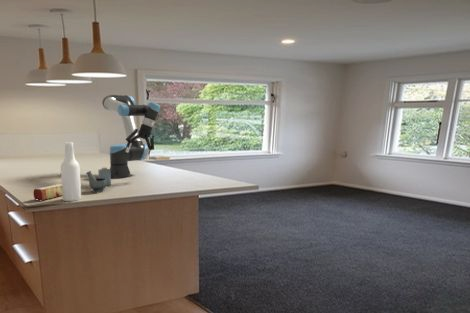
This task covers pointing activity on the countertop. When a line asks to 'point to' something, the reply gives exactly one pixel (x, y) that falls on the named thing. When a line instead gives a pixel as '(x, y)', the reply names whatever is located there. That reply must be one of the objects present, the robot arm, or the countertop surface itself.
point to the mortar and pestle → (97, 183)
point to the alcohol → (70, 175)
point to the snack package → (48, 192)
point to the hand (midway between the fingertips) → (136, 155)
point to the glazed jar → (105, 175)
